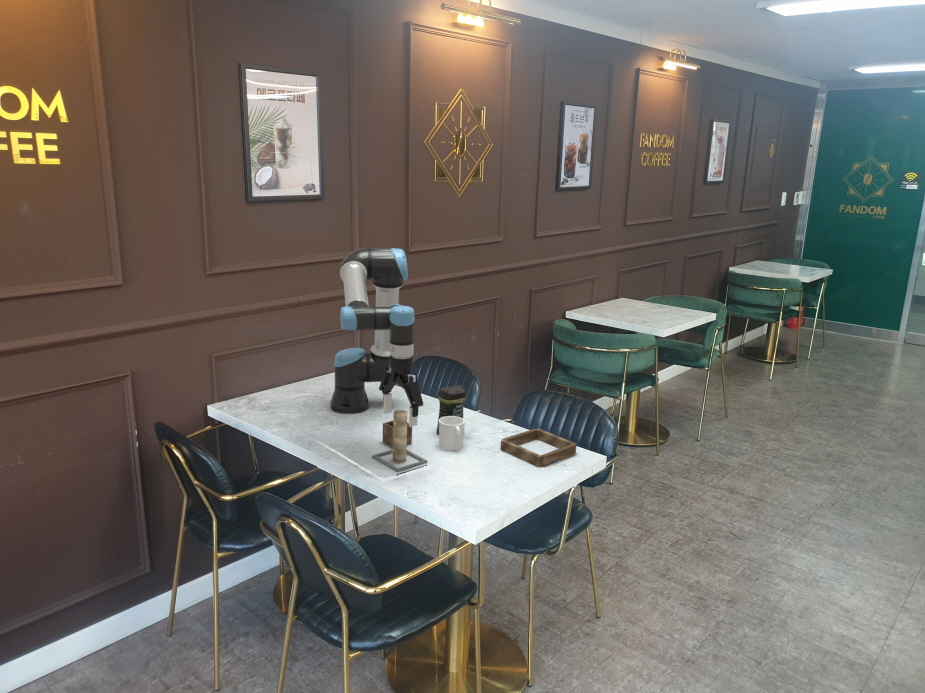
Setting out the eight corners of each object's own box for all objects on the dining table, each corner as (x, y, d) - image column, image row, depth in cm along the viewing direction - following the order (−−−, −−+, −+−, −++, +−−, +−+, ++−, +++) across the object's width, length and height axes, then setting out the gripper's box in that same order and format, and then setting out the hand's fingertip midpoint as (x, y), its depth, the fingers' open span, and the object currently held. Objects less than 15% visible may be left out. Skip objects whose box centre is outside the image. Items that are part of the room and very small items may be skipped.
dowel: (389, 460, 230) (390, 411, 226) (400, 457, 233) (401, 408, 229) (398, 465, 227) (399, 415, 223) (408, 461, 230) (410, 412, 226)
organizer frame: (498, 449, 245) (499, 439, 244) (536, 436, 257) (536, 427, 256) (540, 468, 231) (540, 458, 230) (577, 453, 243) (578, 444, 243)
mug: (434, 445, 246) (434, 417, 243) (457, 442, 249) (458, 414, 247) (445, 457, 236) (446, 428, 233) (470, 454, 239) (471, 425, 237)
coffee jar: (446, 442, 249) (448, 392, 244) (433, 435, 255) (434, 386, 250) (467, 436, 255) (469, 387, 250) (454, 429, 261) (455, 381, 256)
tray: (371, 460, 231) (371, 455, 231) (401, 451, 239) (401, 446, 239) (397, 475, 221) (397, 470, 221) (427, 465, 229) (427, 460, 229)
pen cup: (382, 444, 244) (382, 423, 242) (399, 440, 249) (399, 418, 247) (394, 451, 239) (395, 429, 237) (411, 446, 244) (412, 424, 242)
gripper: (368, 348, 227) (368, 410, 233) (416, 367, 210) (414, 434, 215) (387, 344, 232) (386, 405, 238) (435, 363, 215) (433, 428, 220)
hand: (400, 419), depth 227 cm, fingers open, 13 cm apart
